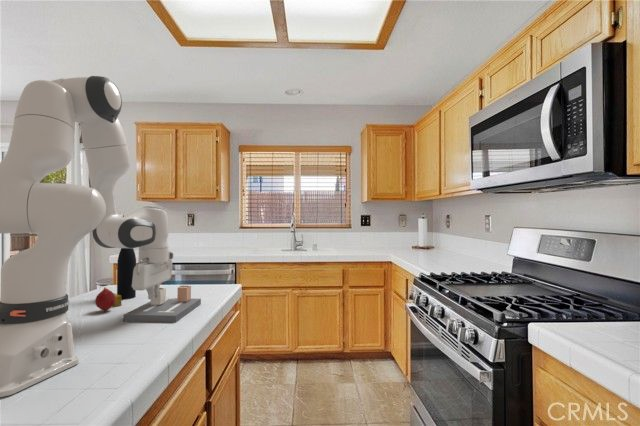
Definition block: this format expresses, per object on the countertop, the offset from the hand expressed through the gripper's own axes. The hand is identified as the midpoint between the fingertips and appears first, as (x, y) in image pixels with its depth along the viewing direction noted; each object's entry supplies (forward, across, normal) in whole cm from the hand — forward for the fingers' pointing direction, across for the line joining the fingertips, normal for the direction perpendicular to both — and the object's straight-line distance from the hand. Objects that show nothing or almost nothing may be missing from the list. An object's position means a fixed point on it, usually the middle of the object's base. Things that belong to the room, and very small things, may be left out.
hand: (152, 298), depth 117 cm
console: (+5, +2, -4) cm, 6 cm away
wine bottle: (+5, +22, +20) cm, 30 cm away
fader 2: (+3, +9, -7) cm, 11 cm away
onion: (+5, +1, +16) cm, 17 cm away
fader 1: (+2, +4, 0) cm, 5 cm away
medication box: (+5, +11, +21) cm, 24 cm away
